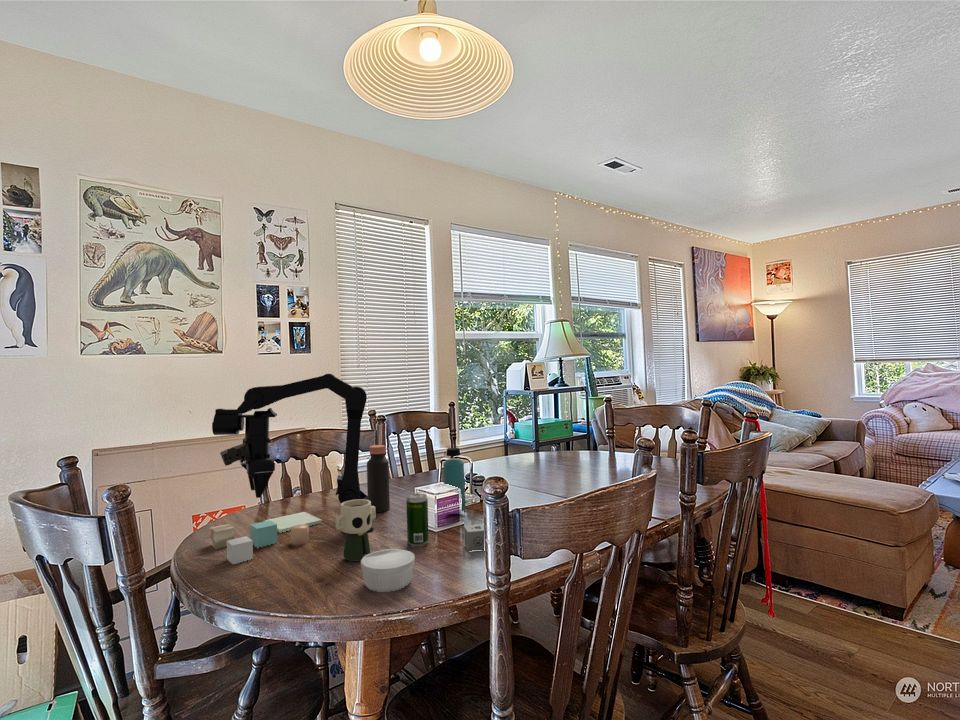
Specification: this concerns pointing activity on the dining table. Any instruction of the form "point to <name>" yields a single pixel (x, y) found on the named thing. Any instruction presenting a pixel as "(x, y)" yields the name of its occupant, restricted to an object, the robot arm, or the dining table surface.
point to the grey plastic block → (239, 550)
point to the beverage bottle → (455, 472)
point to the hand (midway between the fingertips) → (255, 493)
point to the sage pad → (294, 521)
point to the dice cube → (474, 537)
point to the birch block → (221, 535)
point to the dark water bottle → (378, 478)
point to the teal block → (263, 533)
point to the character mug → (356, 527)
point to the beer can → (417, 519)
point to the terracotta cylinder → (299, 534)
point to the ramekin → (388, 569)
